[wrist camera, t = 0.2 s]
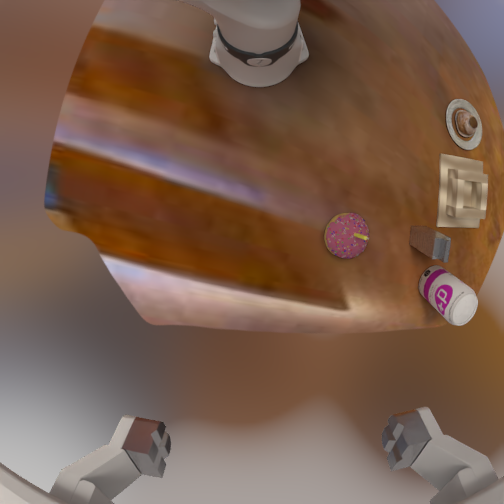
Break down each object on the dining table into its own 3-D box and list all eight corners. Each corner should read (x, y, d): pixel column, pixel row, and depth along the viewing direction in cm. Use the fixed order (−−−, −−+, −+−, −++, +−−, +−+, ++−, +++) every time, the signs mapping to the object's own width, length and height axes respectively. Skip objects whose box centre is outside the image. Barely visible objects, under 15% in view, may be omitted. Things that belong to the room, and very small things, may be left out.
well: (439, 153, 48) (451, 153, 44) (481, 161, 47) (493, 162, 43) (436, 226, 53) (447, 231, 48) (477, 227, 52) (488, 232, 48)
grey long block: (410, 225, 53) (440, 241, 42) (425, 225, 53) (456, 241, 42) (409, 243, 54) (437, 262, 43) (423, 243, 54) (453, 261, 43)
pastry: (478, 107, 44) (490, 106, 39) (478, 154, 47) (490, 155, 43) (442, 93, 44) (454, 89, 40) (443, 143, 48) (455, 143, 43)
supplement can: (412, 293, 58) (443, 326, 44) (425, 260, 55) (462, 287, 41) (435, 299, 58) (467, 330, 44) (449, 268, 56) (485, 294, 41)
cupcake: (339, 199, 52) (359, 210, 41) (369, 227, 54) (393, 244, 42) (311, 233, 55) (323, 252, 43) (342, 259, 56) (359, 283, 45)
